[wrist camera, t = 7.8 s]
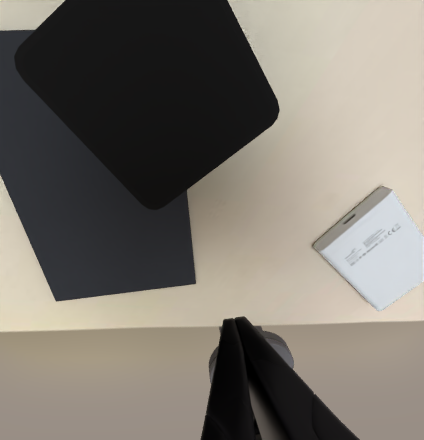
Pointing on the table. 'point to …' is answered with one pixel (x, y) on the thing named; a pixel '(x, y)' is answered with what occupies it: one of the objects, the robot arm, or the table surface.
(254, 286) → the table surface
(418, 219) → the table surface
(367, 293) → the hard drive
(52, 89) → the electronic device
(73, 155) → the mat
